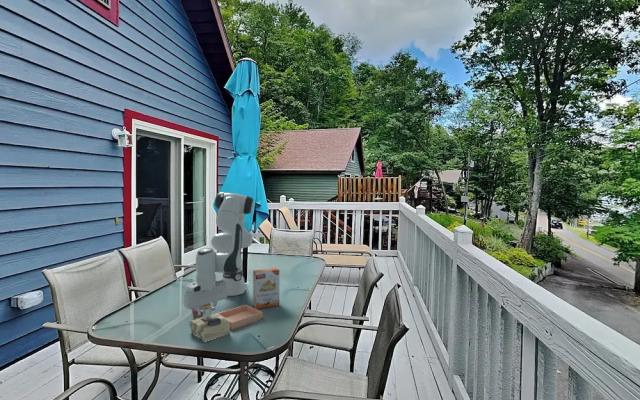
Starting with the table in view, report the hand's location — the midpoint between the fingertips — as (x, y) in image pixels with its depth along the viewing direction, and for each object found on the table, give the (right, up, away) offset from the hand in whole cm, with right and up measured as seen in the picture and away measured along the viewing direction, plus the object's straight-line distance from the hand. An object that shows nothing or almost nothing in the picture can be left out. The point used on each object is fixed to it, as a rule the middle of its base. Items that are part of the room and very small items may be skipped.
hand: (206, 312), depth 156 cm
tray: (+12, -8, +14) cm, 20 cm away
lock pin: (0, -9, 0) cm, 9 cm away
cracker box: (+23, -8, +33) cm, 41 cm away
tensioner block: (+2, -9, -2) cm, 10 cm away
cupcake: (-9, -9, +17) cm, 21 cm away
